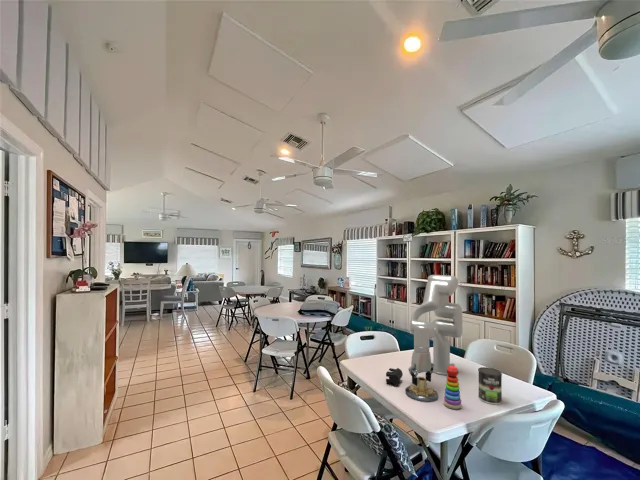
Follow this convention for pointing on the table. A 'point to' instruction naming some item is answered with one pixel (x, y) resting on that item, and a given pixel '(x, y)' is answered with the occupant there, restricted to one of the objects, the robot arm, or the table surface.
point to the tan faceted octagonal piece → (421, 388)
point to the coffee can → (490, 385)
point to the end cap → (393, 376)
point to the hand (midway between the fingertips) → (421, 382)
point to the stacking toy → (452, 389)
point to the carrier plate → (422, 399)
